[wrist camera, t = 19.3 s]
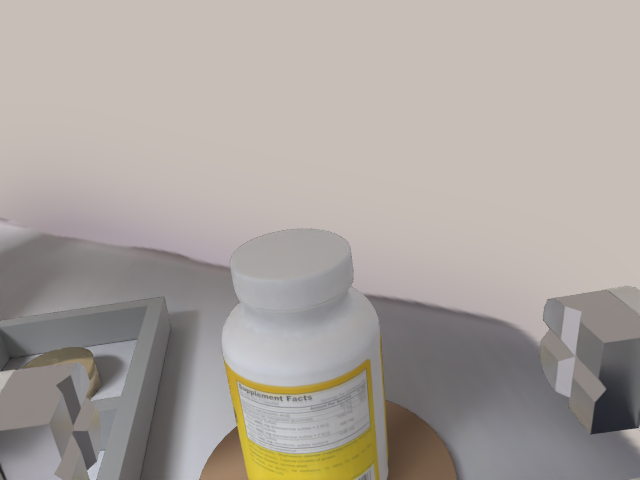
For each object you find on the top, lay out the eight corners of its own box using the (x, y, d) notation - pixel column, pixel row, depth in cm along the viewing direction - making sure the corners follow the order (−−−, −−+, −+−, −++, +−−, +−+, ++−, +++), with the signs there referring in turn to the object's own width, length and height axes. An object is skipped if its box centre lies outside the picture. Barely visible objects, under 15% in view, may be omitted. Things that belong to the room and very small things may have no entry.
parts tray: (103, 657, 21) (85, 611, 20) (-253, 727, 20) (-291, 682, 19) (171, 326, 42) (164, 296, 41) (0, 352, 41) (-11, 321, 40)
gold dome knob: (15, 398, 36) (5, 372, 35) (82, 364, 39) (74, 339, 38) (43, 428, 33) (33, 400, 32) (113, 389, 36) (105, 362, 35)
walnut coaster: (148, 496, 27) (145, 487, 27) (325, 374, 35) (324, 366, 35) (326, 684, 19) (325, 673, 19) (508, 472, 27) (508, 462, 26)
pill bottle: (317, 411, 31) (293, 209, 26) (418, 468, 27) (409, 238, 22) (221, 487, 27) (171, 262, 22) (322, 569, 22) (286, 311, 18)
